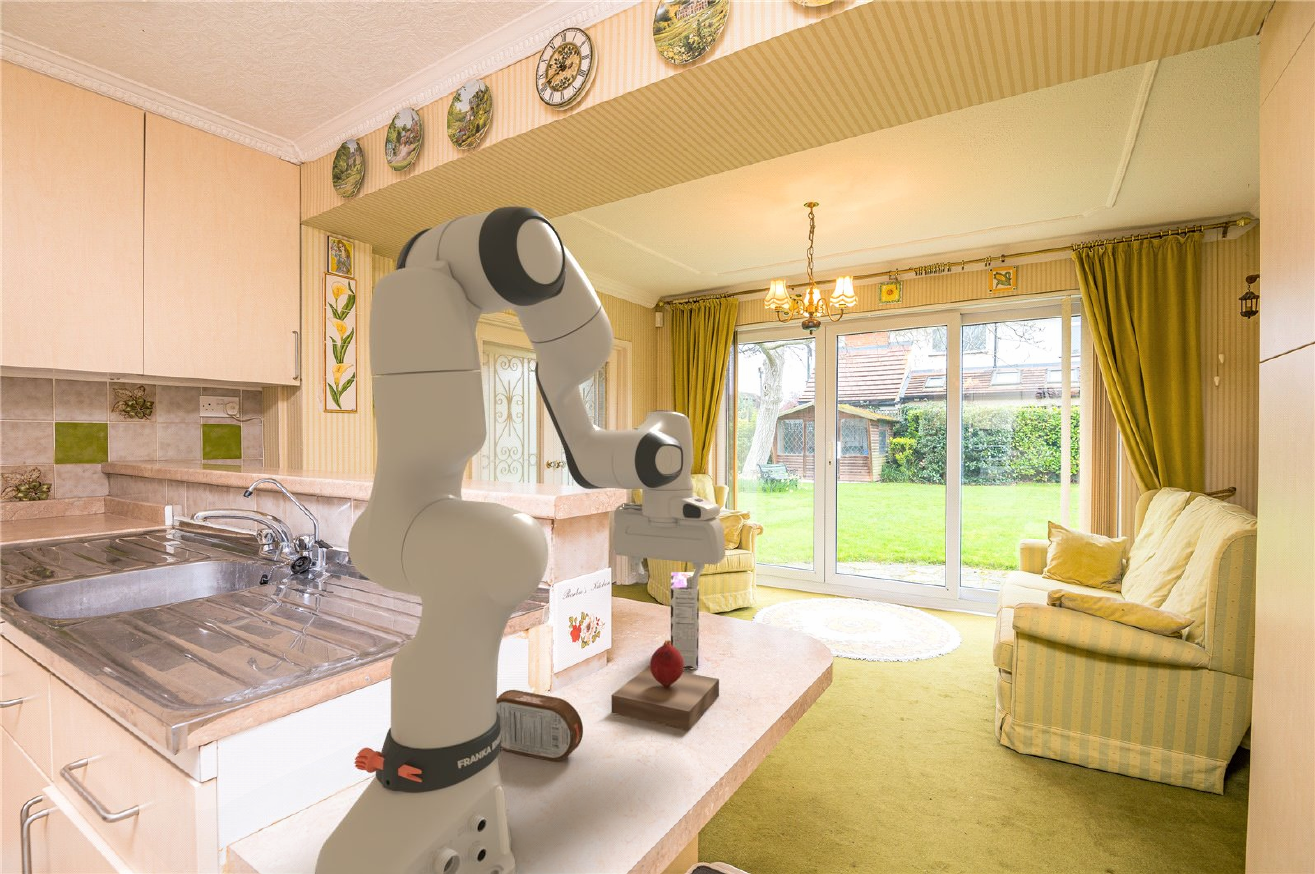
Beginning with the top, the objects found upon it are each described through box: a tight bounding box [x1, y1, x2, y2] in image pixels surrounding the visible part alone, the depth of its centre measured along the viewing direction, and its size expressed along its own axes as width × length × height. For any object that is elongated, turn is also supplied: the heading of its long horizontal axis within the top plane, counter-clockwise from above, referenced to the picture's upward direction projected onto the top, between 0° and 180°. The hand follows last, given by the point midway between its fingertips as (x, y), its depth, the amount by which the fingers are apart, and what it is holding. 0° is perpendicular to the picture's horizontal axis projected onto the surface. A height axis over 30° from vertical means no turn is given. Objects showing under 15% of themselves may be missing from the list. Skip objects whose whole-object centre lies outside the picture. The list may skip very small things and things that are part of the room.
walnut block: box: [610, 665, 720, 731], centre depth 102 cm, size 14×14×3 cm
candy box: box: [669, 571, 700, 669], centre depth 125 cm, size 14×6×16 cm, turn 178°
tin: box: [497, 689, 584, 762], centre depth 86 cm, size 15×3×8 cm, turn 70°
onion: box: [649, 639, 685, 687], centre depth 102 cm, size 6×6×8 cm
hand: (666, 585), depth 102 cm, fingers open, 8 cm apart
